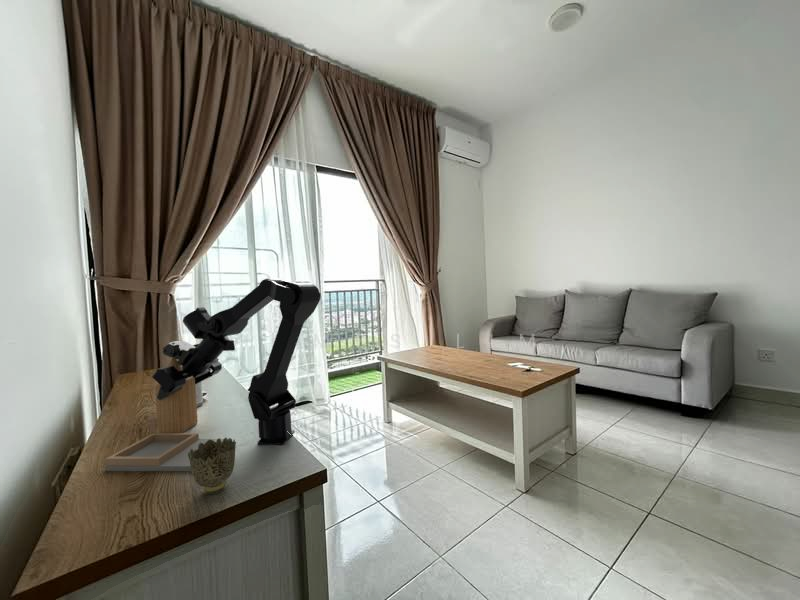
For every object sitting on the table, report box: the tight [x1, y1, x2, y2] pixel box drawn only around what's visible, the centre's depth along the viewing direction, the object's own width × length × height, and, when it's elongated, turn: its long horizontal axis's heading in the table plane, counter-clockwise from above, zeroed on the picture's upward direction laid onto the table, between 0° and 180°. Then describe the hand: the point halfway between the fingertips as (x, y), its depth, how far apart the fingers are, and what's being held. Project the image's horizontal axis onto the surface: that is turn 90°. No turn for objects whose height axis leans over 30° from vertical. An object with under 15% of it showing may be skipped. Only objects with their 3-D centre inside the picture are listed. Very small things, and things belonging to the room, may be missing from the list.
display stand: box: [104, 432, 233, 472], centre depth 72 cm, size 20×12×2 cm, turn 86°
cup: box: [188, 437, 237, 495], centre depth 58 cm, size 8×7×8 cm
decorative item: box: [154, 357, 199, 433], centre depth 86 cm, size 7×7×20 cm
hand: (171, 393), depth 87 cm, fingers open, 8 cm apart
